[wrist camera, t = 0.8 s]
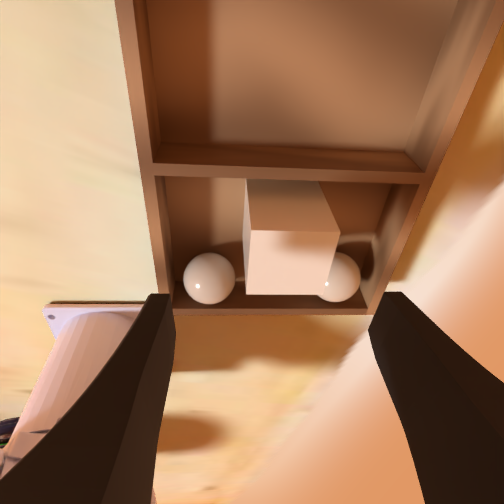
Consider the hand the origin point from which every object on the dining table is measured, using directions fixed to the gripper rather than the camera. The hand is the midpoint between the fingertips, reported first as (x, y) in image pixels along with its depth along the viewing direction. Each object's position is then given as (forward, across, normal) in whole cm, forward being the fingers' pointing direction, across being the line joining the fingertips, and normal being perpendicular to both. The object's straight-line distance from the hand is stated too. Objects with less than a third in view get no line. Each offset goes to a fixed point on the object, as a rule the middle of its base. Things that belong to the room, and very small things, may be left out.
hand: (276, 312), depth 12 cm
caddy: (+10, -1, -2) cm, 10 cm away
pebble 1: (+9, +3, +6) cm, 11 cm away
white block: (+9, -1, +2) cm, 10 cm away
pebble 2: (+9, -5, +6) cm, 12 cm away
